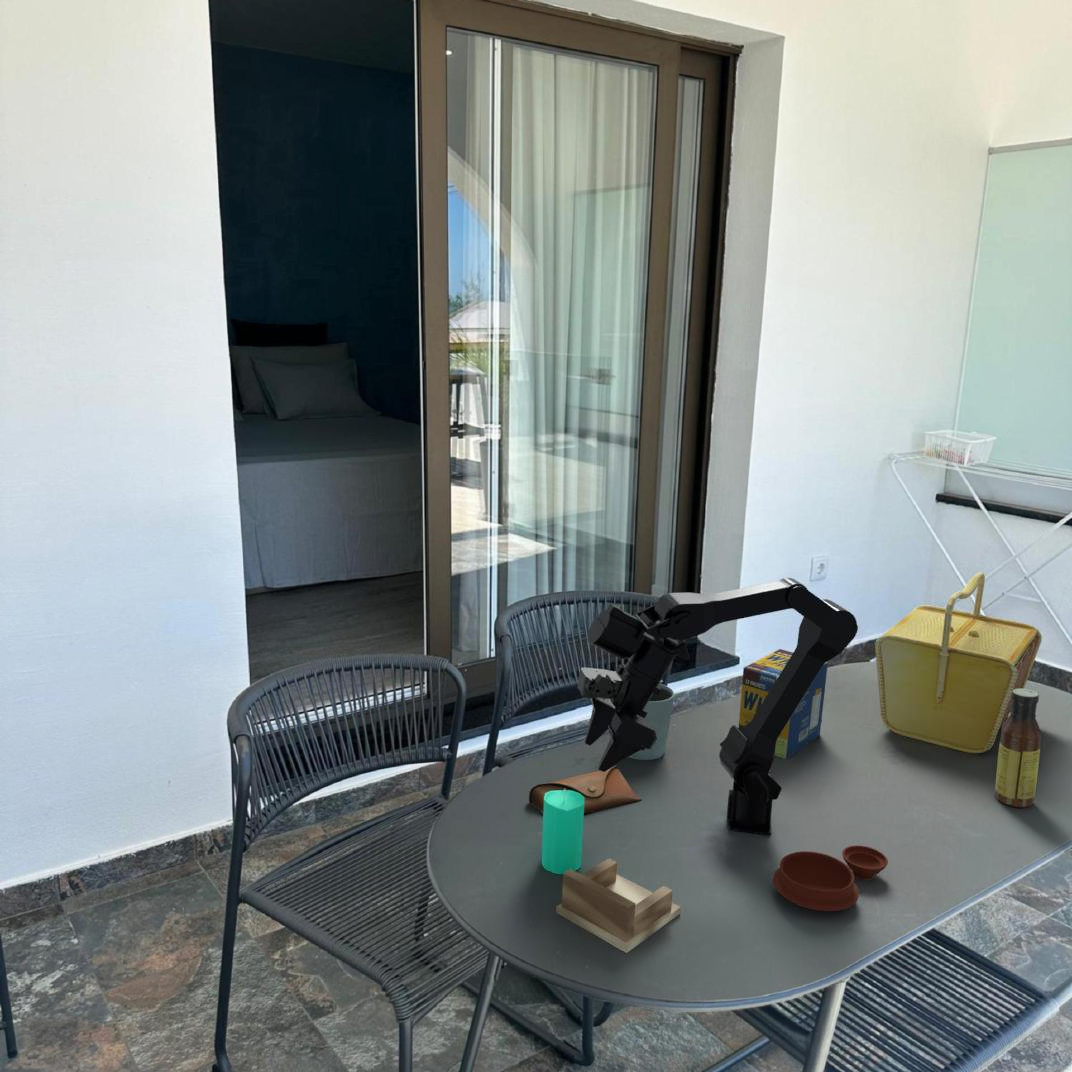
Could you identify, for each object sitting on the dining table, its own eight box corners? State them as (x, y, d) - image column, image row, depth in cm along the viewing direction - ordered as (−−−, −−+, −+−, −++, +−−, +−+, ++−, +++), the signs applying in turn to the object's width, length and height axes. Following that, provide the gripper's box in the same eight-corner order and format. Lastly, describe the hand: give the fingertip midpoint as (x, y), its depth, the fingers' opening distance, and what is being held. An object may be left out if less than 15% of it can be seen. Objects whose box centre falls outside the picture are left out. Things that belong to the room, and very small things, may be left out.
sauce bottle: (1032, 797, 169) (1049, 689, 164) (1034, 812, 163) (1051, 702, 159) (991, 788, 171) (1007, 682, 167) (991, 803, 166) (1007, 694, 161)
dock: (611, 877, 140) (613, 840, 139) (680, 913, 132) (683, 873, 131) (556, 912, 131) (557, 873, 130) (626, 953, 124) (629, 911, 122)
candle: (535, 868, 142) (537, 793, 139) (549, 848, 147) (552, 776, 145) (573, 878, 140) (577, 802, 137) (587, 857, 145) (590, 784, 143)
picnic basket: (904, 688, 218) (920, 559, 211) (1030, 718, 203) (1051, 580, 196) (863, 730, 194) (879, 586, 188) (1002, 767, 180) (1025, 612, 173)
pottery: (753, 890, 138) (756, 863, 137) (844, 851, 150) (847, 825, 149) (819, 934, 129) (822, 904, 128) (910, 888, 140) (914, 861, 139)
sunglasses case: (555, 824, 154) (545, 782, 156) (534, 828, 160) (525, 787, 161) (645, 799, 163) (635, 760, 165) (623, 803, 169) (613, 765, 171)
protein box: (735, 743, 186) (742, 667, 183) (773, 719, 198) (780, 647, 194) (786, 760, 180) (793, 681, 176) (821, 735, 191) (829, 660, 188)
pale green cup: (615, 737, 187) (618, 679, 184) (667, 739, 187) (671, 681, 184) (617, 761, 177) (621, 699, 174) (673, 763, 177) (677, 702, 174)
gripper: (586, 629, 154) (538, 711, 156) (615, 670, 136) (561, 763, 138) (644, 658, 157) (596, 739, 159) (680, 702, 139) (626, 793, 141)
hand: (593, 756), depth 149 cm, fingers open, 9 cm apart
